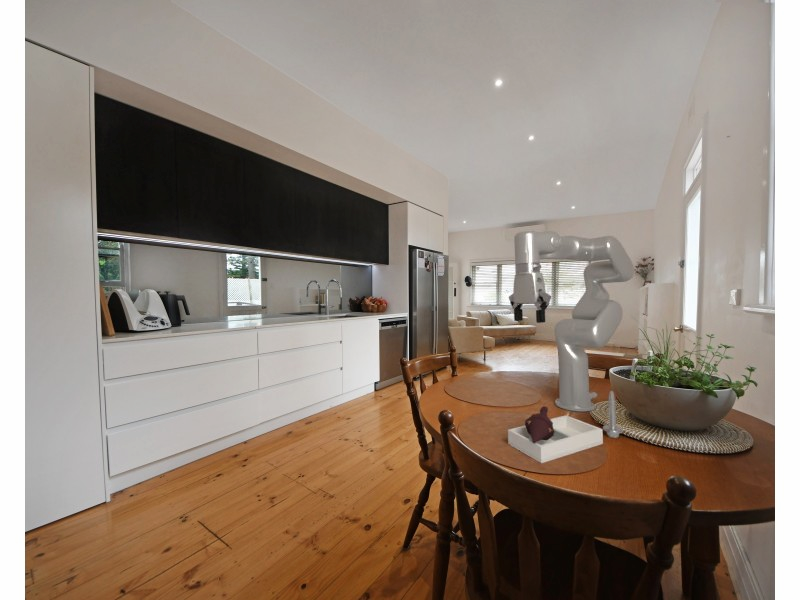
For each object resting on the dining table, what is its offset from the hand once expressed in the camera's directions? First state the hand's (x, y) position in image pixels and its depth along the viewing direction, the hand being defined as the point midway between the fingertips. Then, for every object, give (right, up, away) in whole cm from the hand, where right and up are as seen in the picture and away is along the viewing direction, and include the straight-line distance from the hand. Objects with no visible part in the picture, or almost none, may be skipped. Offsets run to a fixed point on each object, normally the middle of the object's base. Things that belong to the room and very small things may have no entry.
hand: (529, 321), depth 106 cm
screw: (+18, -32, -14) cm, 39 cm away
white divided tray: (0, -33, -17) cm, 37 cm away
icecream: (-5, -30, -19) cm, 36 cm away
